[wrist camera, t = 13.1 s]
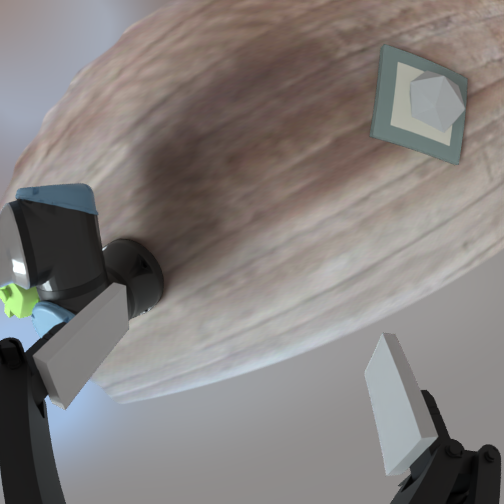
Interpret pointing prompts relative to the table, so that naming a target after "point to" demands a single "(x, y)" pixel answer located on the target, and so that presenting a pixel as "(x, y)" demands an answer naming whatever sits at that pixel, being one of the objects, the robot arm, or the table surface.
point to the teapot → (18, 300)
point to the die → (435, 100)
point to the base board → (399, 108)
